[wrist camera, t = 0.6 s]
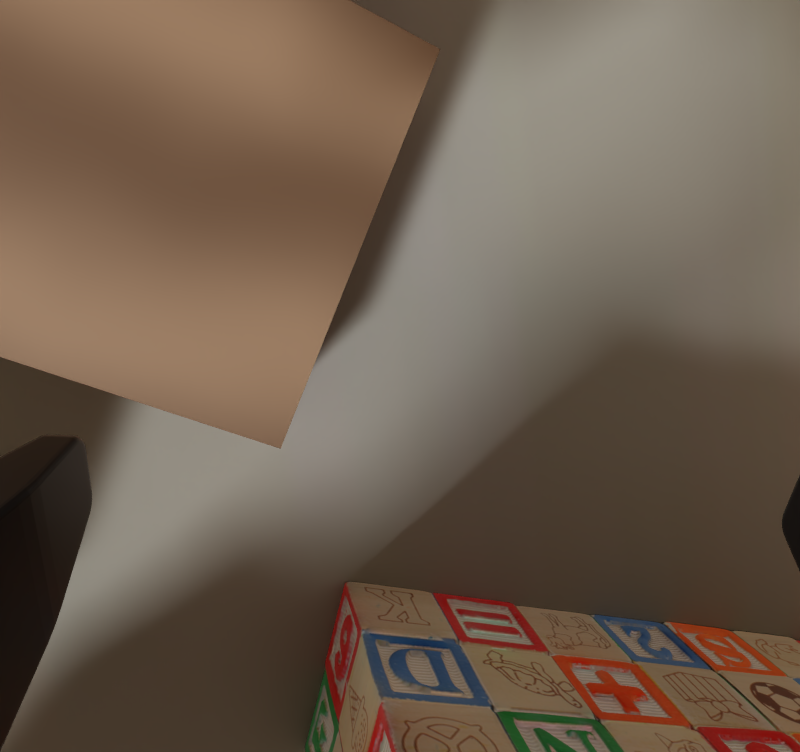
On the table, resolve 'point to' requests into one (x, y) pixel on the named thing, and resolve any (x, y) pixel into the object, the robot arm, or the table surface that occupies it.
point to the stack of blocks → (545, 681)
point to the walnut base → (192, 191)
